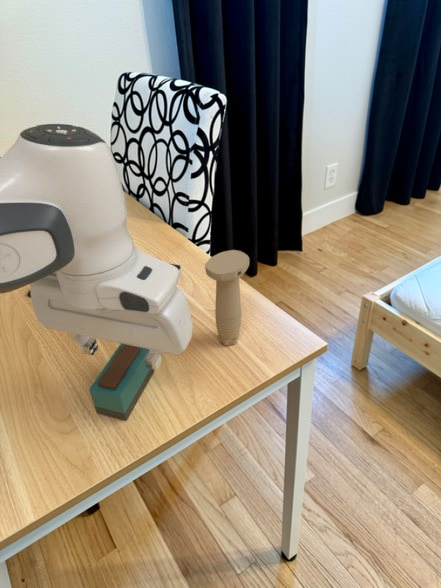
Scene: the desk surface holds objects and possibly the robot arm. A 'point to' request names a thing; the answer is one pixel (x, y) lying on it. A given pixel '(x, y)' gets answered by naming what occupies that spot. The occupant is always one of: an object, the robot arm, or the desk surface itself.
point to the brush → (121, 382)
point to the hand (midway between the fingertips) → (121, 358)
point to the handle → (227, 292)
